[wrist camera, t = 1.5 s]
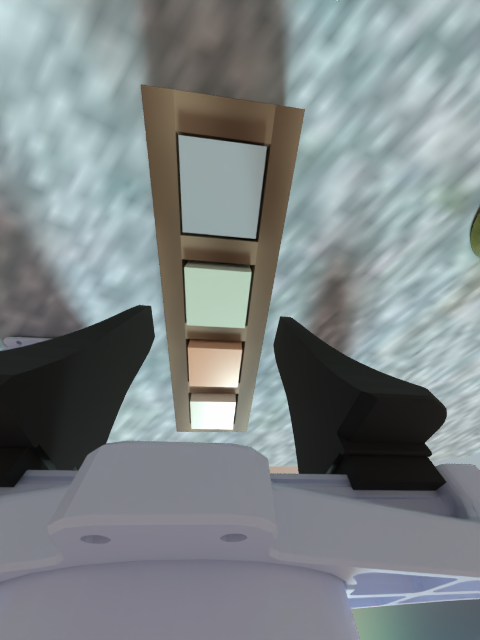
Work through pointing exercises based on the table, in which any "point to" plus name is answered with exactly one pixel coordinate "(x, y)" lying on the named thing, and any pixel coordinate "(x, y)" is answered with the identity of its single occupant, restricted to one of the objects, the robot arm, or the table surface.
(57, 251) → the table surface
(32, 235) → the table surface
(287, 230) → the table surface
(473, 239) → the olive green vase
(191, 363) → the terracotta key
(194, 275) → the sage key
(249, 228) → the slate key
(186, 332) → the keyboard
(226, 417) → the ivory key
